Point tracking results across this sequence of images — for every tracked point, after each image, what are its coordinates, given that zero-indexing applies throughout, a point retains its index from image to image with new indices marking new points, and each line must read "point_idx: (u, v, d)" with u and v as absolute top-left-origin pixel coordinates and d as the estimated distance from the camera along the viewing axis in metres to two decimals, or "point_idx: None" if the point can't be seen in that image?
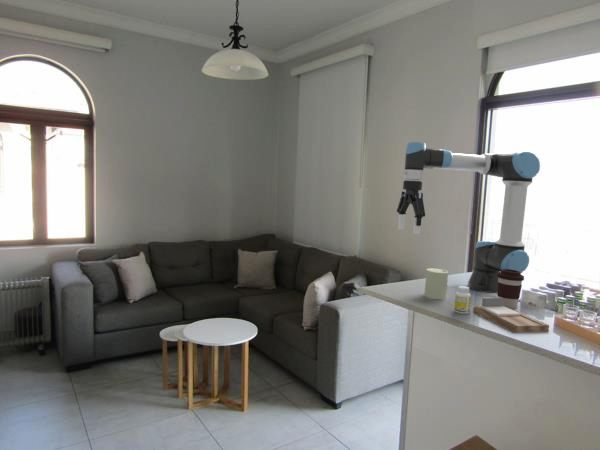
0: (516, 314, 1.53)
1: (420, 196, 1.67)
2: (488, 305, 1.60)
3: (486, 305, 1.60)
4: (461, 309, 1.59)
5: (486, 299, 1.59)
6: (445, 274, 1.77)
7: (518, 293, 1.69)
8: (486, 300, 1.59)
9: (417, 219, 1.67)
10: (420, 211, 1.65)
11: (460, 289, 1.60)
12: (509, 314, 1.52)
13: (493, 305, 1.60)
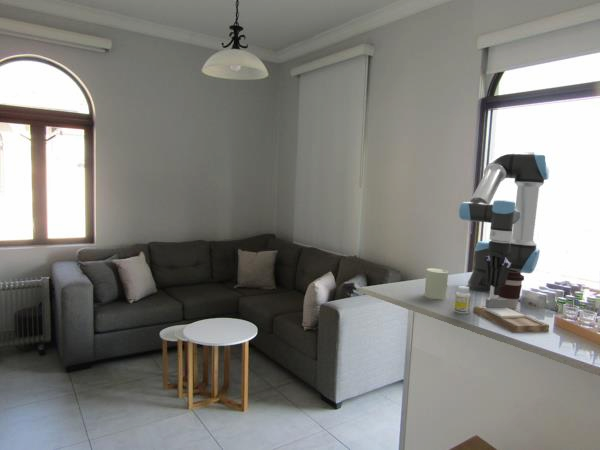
0: (520, 316, 1.51)
1: (508, 267, 1.53)
2: (492, 307, 1.58)
3: (490, 307, 1.58)
4: (461, 309, 1.59)
5: (490, 301, 1.57)
6: (445, 274, 1.77)
7: (518, 293, 1.69)
8: (490, 302, 1.57)
9: (495, 288, 1.58)
10: (501, 282, 1.55)
11: (460, 289, 1.60)
12: (513, 316, 1.50)
13: (497, 307, 1.58)
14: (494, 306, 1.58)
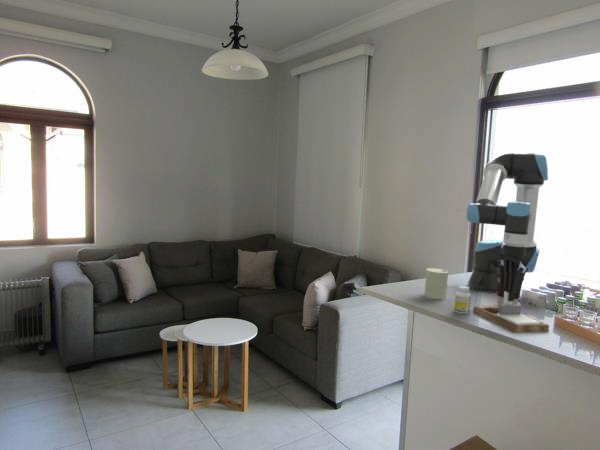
0: (536, 323, 1.44)
1: (523, 272, 1.46)
2: (505, 313, 1.51)
3: (503, 313, 1.50)
4: (461, 309, 1.59)
5: (503, 307, 1.50)
6: (445, 274, 1.77)
7: (518, 293, 1.69)
8: (503, 308, 1.50)
9: (509, 294, 1.51)
10: (516, 288, 1.48)
11: (460, 289, 1.60)
12: (529, 323, 1.43)
13: (511, 313, 1.51)
14: (508, 312, 1.51)
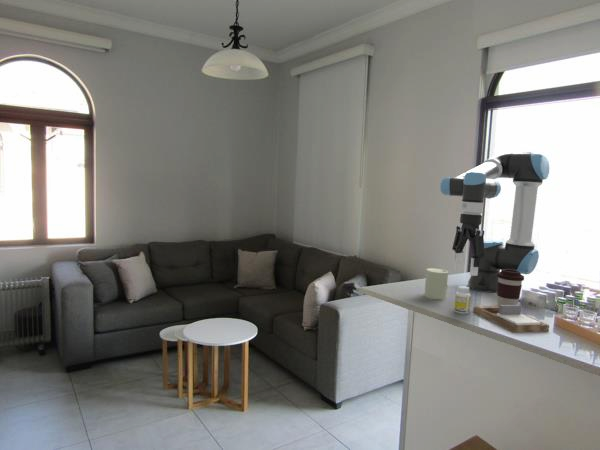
0: (536, 323, 1.44)
1: (481, 234, 1.52)
2: (506, 313, 1.51)
3: (503, 313, 1.50)
4: (461, 309, 1.59)
5: (503, 307, 1.50)
6: (445, 274, 1.77)
7: (518, 293, 1.69)
8: (503, 308, 1.50)
9: (475, 260, 1.53)
10: (479, 252, 1.51)
11: (460, 289, 1.60)
12: (529, 323, 1.43)
13: (511, 313, 1.51)
14: (508, 312, 1.51)
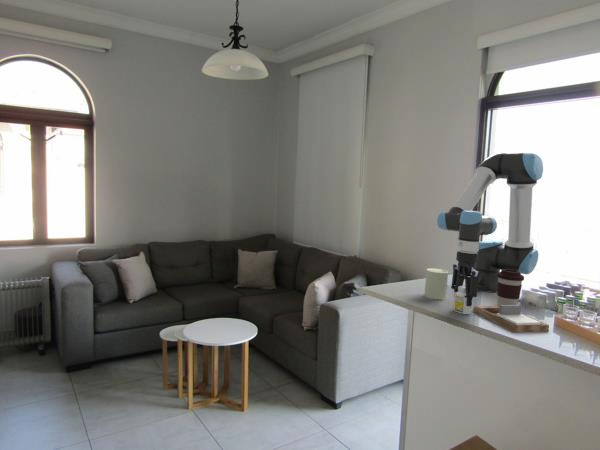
0: (536, 323, 1.44)
1: (476, 275, 1.54)
2: (506, 313, 1.51)
3: (503, 313, 1.50)
4: (461, 309, 1.59)
5: (503, 307, 1.50)
6: (445, 274, 1.77)
7: (518, 293, 1.69)
8: (503, 308, 1.50)
9: (467, 299, 1.57)
10: (472, 292, 1.54)
11: (460, 289, 1.60)
12: (529, 323, 1.43)
13: (511, 313, 1.51)
14: (508, 312, 1.51)
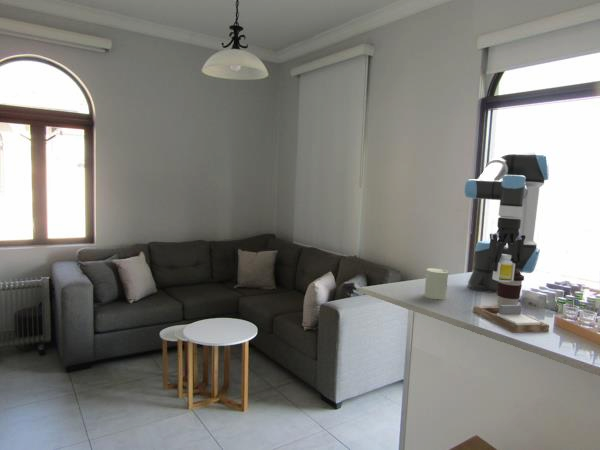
0: (536, 323, 1.44)
1: (492, 238, 1.52)
2: (506, 313, 1.51)
3: (503, 313, 1.50)
4: None
5: (503, 307, 1.50)
6: (445, 274, 1.77)
7: (518, 293, 1.69)
8: (503, 308, 1.50)
9: None
10: (489, 255, 1.54)
11: None
12: (529, 323, 1.43)
13: (511, 313, 1.51)
14: (508, 312, 1.51)
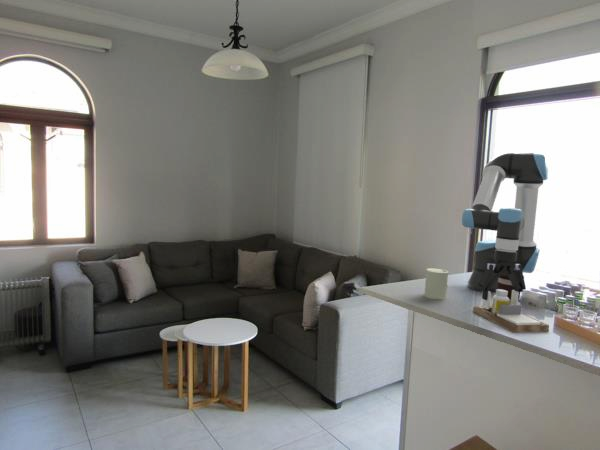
0: (536, 323, 1.44)
1: (488, 267, 1.54)
2: (506, 313, 1.51)
3: (503, 313, 1.50)
4: None
5: (503, 307, 1.50)
6: (445, 274, 1.77)
7: None
8: (503, 308, 1.50)
9: None
10: (480, 283, 1.55)
11: None
12: (529, 323, 1.43)
13: (511, 313, 1.51)
14: (508, 312, 1.51)
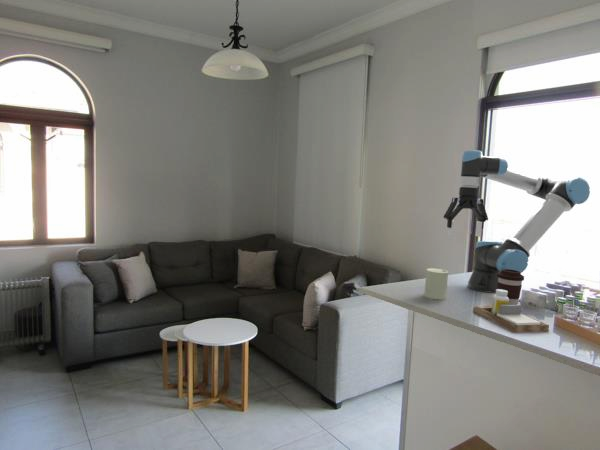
0: (536, 323, 1.44)
1: (453, 200, 1.80)
2: (506, 313, 1.51)
3: (503, 313, 1.50)
4: None
5: (503, 307, 1.50)
6: (445, 274, 1.77)
7: (518, 293, 1.69)
8: (503, 308, 1.50)
9: None
10: (445, 213, 1.81)
11: None
12: (529, 323, 1.43)
13: (511, 313, 1.51)
14: (508, 312, 1.51)
